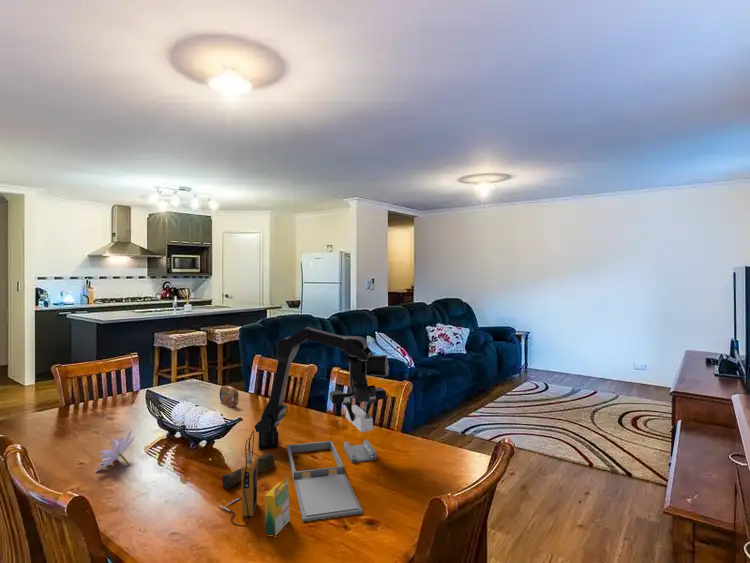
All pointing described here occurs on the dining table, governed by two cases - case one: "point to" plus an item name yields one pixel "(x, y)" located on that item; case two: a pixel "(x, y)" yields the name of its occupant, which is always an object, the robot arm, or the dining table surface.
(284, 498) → the crayon box
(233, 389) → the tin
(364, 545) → the dining table surface
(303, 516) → the case
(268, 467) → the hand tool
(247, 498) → the multimeter
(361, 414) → the white square bar
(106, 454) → the lavender daisy flower
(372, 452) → the stay bracket
